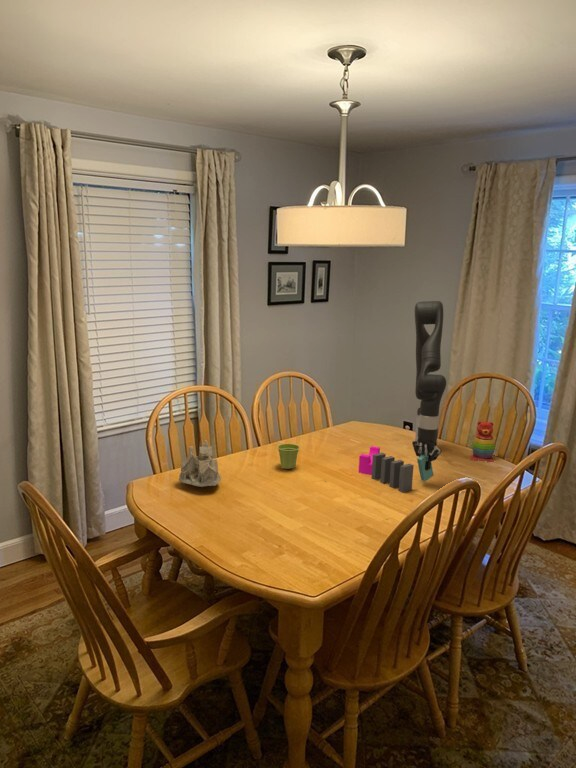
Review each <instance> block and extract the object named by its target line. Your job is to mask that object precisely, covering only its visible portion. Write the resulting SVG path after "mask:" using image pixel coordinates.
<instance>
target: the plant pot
mask: <svg viewBox="0 0 576 768" xmlns="http://www.w3.org/2000/svg"><path fill="white" fill-rule="evenodd" d="M276 448H277V449H278V453H279V463H280V467H281V468H282V469H286V470H289V469H295V468H296V465H297V464H296V463H297V458H298V453H299V450H300V445H299V444H295V443H281V444H278V445H277V447H276Z"/></svg>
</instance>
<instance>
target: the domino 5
mask: <svg viewBox="0 0 576 768" xmlns="http://www.w3.org/2000/svg"><path fill="white" fill-rule="evenodd" d="M416 460H417V464H418V471H419V476H420V477H419V478H420V480H421V481H422V482H427V481H428V480H429V479H431V478H433V476H434V469H433V465H432V462H431V468H430V470H427V471H426V470H425V463H426V455H425V453H424V454H423V455H421V456H420V457H419V456H417V458H416Z"/></svg>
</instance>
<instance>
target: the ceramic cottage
mask: <svg viewBox="0 0 576 768" xmlns="http://www.w3.org/2000/svg"><path fill="white" fill-rule="evenodd" d="M198 449H199V450H198V451H199V453H198V454H199V455H195V454H194V446H193V445H191V446H188V453H187V455H186V458H185V459H184V460H183V461H182V463H181V464H180V474H179V477H178V481H179V482H180V483H183V484H187V485H192V486H195V487H201V488H204V487H208V486H209V487H211V486H217V485H218V484H219V483H220V482H221V480H222V478H221V474H220V473H219V465H218V459H217V458H213V457H214V455H213V446H210V445H209V443H208V440H206V439H205V440H204V442H203V443H202V446H199V448H198Z"/></svg>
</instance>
